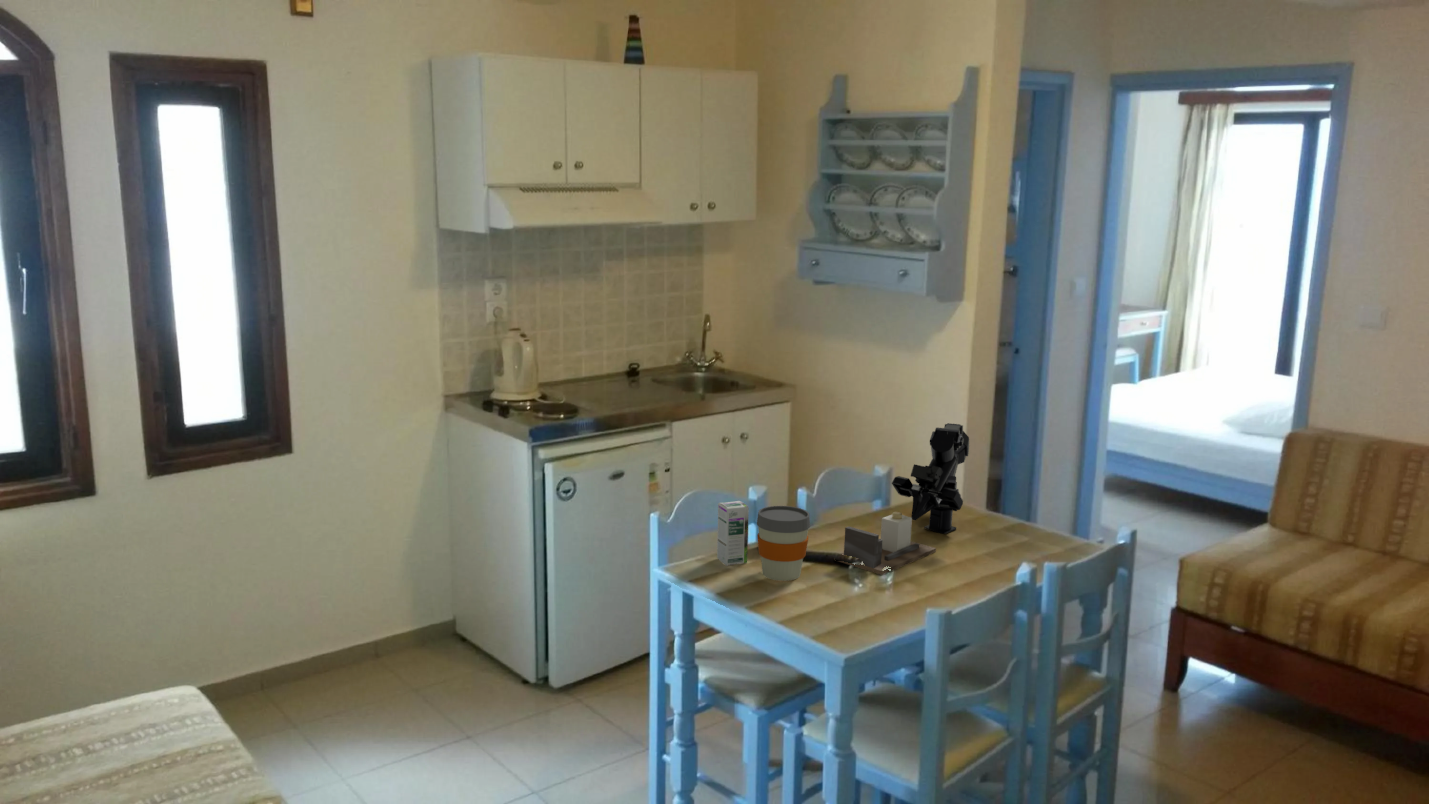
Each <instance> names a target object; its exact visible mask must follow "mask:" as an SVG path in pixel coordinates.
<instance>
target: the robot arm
mask: <svg viewBox="0 0 1429 804" xmlns="http://www.w3.org/2000/svg"><path fill="white" fill-rule="evenodd" d="M929 446H930V450H931V451H930V452H931V457H932V459H931V461H930V462H929V465H924V466H923V465H918V464H914V463H913V466H912V470H911V472H910V477H913V478H915V482H916V483H917V484H916V483H912V481H911V479H910V478H908V477H904V476H900V475H898V476H895V477H894V478H893V480H892V482H891V485H892V486H893V488H894V489H895V491H896V493H897V494H898V495H900V496H902V497H905V498H911V497H912V507H911V508H912V509H911V514H910V515H911V516H910V517H911V518H912V521H914V522H915V521H917V520H918V519H920V518H921V517H923V516H924V515H925V514H927V513H928V512H929V520H928V522H929V524H928V525H925V526H924V528H923V529H924V530H928V531H931V532H936V533H938V534H942V535H946V534H948V533H951V532H954V531H956V530H957V527H956V526H953V525H952V523H953V512H957V511H960V510H961V509H962V507H963V504H964V500H963V498H962V495H961V493H960V490H959V488H958V487H957V486H958V482H957V476H956V473H957V470H958V466H959V465H960V464H961V465H962V464H963V463H965V461H966V458H967V457H969V454H970V453H969V452H970V437H969V435H968V434H967V433H966V432H965V431H964V425H962V424H959V423H950V422H949V423H945V424H944V427H935V429H934V431H932V433H931V436H930V439H929Z"/></svg>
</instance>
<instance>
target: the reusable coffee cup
mask: <svg viewBox="0 0 1429 804" xmlns="http://www.w3.org/2000/svg"><path fill="white" fill-rule="evenodd" d="M756 525H757V527H758V528H757V529H758V533H757V545H758V546H757V547H758V554H759V556H760V558H761V560H760V561H761V562H760V563H761V570H762V571H761V572H762V576H764V577H765V578H767V579H769V580H774V581H779V582H784V581H785V582H787V581H793V580H796V579H798V578H800V576H801V572H802V566H803V562H804V561H803V560H804V558H805V557H806V553H807V548H808V543H809V535H808V534H809V529H810V527H811V517H810V513H809V511H808V510H805V509H803V508H801V507H796V506H790V505H771V506H770V505H769V506H767V507H766V506H765V507H762V508H761V509H759V510H758V512H757V519H756Z"/></svg>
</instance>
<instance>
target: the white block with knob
mask: <svg viewBox="0 0 1429 804" xmlns="http://www.w3.org/2000/svg"><path fill="white" fill-rule="evenodd" d="M912 522H913V520H912V518H911V516H907V515H904V514H903V513H902V512H900V511H894V512H893V511H892V513H891V514H890V515H887V516H884V517H882V518H881V524H880V525H881V527H880V529H881V530H880V539H881V540H883V541H882V549H883V550H887V551H890V552H896V551H898V550H901V549H903V548H905V547H908V546H910V541H912V540H911V539H912Z"/></svg>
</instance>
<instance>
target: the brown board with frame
mask: <svg viewBox="0 0 1429 804" xmlns="http://www.w3.org/2000/svg"><path fill="white" fill-rule="evenodd" d="M879 537H880V535H879V534H877V533H874V532H870V531H867V530H863V529H859V528H856V527H854V526H846V527H845V528H844V544H843V545H844V546H843V552H842V553H841V554H842V555H847V556H852V557H856V558H859V559H860V560H862V561H863V563H864V564H865V566H864V565H861V564H860V565H856V564H855V565H854V564H852V563H848V562H844V561H838V562H839V563H843V564H845V565H849V566H851V567H855V568H858V569H861V570H865V571H868V572H871V573H874V574H877V575H881V576H884V575H886V574H888V573H890V572H893V571H894V570H897V569H900V568H901V567H904V566H906V565H909V564H911V563H913V562H916V561H918V560H920V559H922V558H925V557H927V556H929V555H931V554H934V553H936V551H937V548H936V547H933V546H929V545H926V544H923V543H918V542H915V541H912V540H911V541H910V546H908V547H905V548H903V549H901V550H898V551H896V552H890V551H887V550H883V549H882V541H883V540H881V538H879ZM834 561H836V560H835V559H834ZM836 562H837V561H836ZM886 566H887V567H888V566H889V567H891V568H888V569H891V571H889V570H888V569H886V570H884V571H882V569H883V568H884V567H886Z"/></svg>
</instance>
